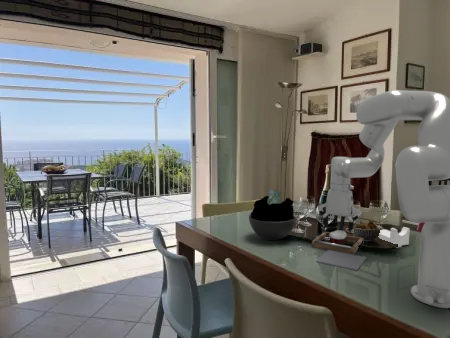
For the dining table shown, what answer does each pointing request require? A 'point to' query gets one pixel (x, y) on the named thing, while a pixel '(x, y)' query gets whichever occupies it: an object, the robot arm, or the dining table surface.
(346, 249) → the tray
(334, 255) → the rubber mat
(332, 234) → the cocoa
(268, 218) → the bowl of black rocks
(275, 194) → the pale blue faceted lump
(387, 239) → the bracket
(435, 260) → the robot arm
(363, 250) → the dining table surface
